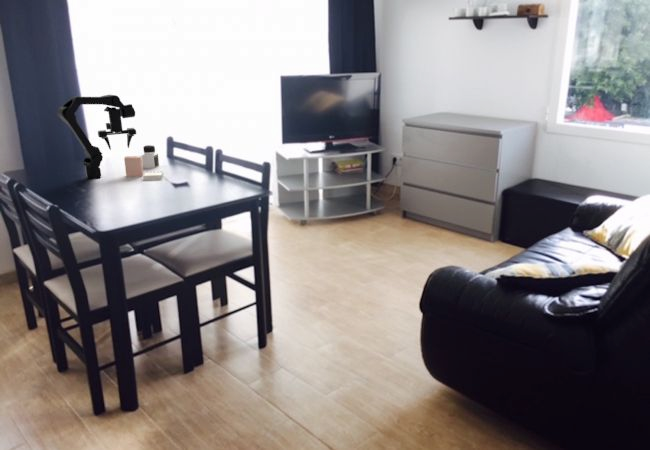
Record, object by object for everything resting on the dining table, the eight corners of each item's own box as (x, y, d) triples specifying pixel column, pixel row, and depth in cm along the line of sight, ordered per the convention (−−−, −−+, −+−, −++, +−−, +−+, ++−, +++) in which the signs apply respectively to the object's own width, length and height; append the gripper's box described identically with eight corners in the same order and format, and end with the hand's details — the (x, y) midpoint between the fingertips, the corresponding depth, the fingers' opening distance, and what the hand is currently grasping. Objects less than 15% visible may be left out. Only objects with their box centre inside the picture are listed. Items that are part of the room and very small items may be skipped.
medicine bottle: (155, 168, 314) (153, 146, 311) (142, 168, 315) (140, 146, 311) (159, 165, 321) (157, 144, 317) (146, 165, 321) (144, 144, 318)
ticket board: (143, 180, 287) (143, 175, 287) (146, 176, 295) (145, 171, 294) (161, 179, 289) (161, 174, 288) (163, 176, 296) (163, 171, 295)
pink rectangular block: (126, 176, 294) (124, 157, 291) (127, 175, 298) (125, 156, 294) (142, 176, 295) (140, 157, 292) (143, 174, 299) (141, 155, 296)
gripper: (131, 116, 306) (134, 144, 311) (94, 118, 298) (99, 147, 303) (134, 118, 296) (138, 147, 301) (97, 121, 288) (101, 151, 294)
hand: (119, 148), depth 300 cm, fingers open, 9 cm apart
